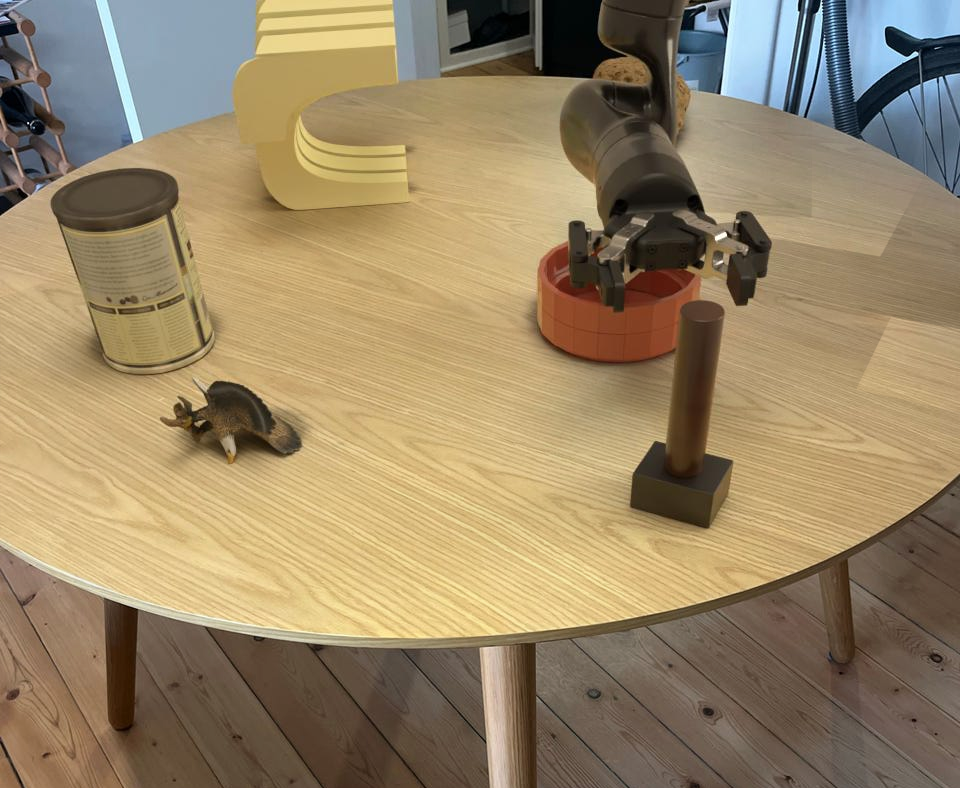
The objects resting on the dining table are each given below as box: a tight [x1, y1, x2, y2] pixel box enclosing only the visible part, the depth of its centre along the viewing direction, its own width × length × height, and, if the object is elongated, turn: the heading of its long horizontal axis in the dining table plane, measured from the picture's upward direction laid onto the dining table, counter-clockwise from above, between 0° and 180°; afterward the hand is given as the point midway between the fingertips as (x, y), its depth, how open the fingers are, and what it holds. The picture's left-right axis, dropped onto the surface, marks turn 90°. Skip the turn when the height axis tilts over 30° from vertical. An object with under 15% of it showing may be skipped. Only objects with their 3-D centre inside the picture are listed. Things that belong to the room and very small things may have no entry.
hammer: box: [629, 299, 734, 529], centre depth 70 cm, size 6×4×15 cm
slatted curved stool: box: [231, 0, 410, 211], centre depth 113 cm, size 30×16×18 cm, turn 4°
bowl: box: [536, 240, 703, 363], centre depth 91 cm, size 14×14×6 cm
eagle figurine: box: [159, 376, 303, 464], centre depth 80 cm, size 8×7×9 cm
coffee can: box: [49, 167, 216, 375], centre depth 89 cm, size 10×10×14 cm
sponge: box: [592, 56, 692, 136], centre depth 126 cm, size 13×8×20 cm
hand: (682, 296), depth 70 cm, fingers open, 8 cm apart
